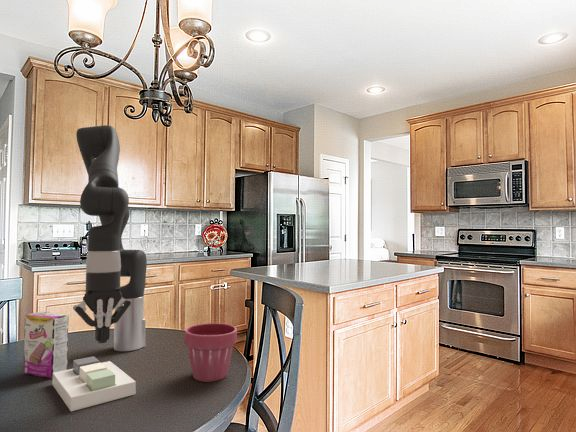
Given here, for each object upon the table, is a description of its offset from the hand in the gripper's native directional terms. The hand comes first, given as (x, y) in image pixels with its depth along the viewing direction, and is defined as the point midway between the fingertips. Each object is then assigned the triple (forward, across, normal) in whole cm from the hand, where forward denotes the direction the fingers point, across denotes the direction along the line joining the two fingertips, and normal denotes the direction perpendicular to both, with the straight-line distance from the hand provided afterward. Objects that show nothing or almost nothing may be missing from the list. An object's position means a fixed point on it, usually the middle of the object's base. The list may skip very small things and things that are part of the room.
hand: (102, 342), depth 93 cm
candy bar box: (+13, +7, -26) cm, 30 cm away
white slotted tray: (+13, 0, -6) cm, 14 cm away
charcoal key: (+10, 0, -13) cm, 17 cm away
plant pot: (+13, -27, +5) cm, 30 cm away
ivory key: (+10, 0, -6) cm, 12 cm away
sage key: (+10, 0, 0) cm, 10 cm away
